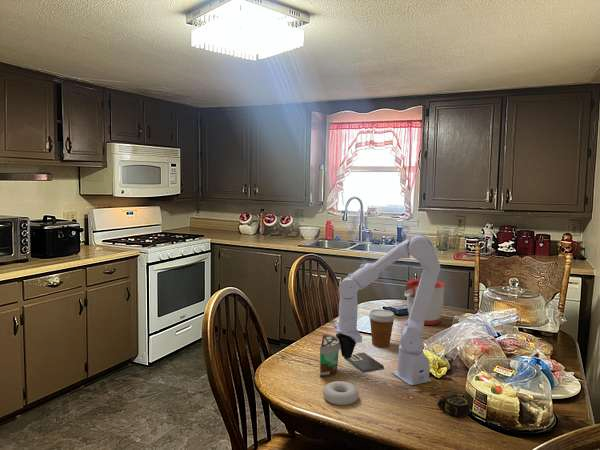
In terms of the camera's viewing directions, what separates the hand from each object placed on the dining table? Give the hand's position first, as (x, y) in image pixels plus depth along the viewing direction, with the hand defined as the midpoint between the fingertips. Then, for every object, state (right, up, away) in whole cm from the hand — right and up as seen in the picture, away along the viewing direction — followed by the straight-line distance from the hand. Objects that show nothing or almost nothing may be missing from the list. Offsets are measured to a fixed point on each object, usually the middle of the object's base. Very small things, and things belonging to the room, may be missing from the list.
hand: (346, 356), depth 144 cm
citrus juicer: (+38, 0, +50) cm, 62 cm away
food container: (-5, -4, -2) cm, 7 cm away
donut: (-4, -6, -18) cm, 20 cm away
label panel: (+6, -4, +5) cm, 9 cm away
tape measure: (+26, -8, -25) cm, 36 cm away
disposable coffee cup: (+15, -2, +22) cm, 27 cm away
